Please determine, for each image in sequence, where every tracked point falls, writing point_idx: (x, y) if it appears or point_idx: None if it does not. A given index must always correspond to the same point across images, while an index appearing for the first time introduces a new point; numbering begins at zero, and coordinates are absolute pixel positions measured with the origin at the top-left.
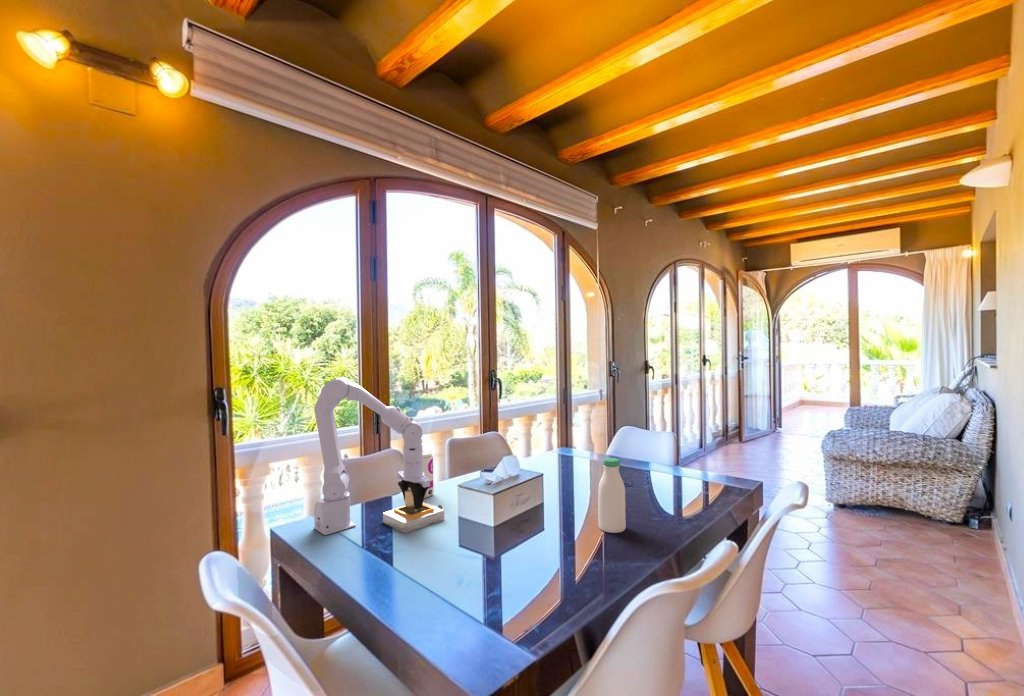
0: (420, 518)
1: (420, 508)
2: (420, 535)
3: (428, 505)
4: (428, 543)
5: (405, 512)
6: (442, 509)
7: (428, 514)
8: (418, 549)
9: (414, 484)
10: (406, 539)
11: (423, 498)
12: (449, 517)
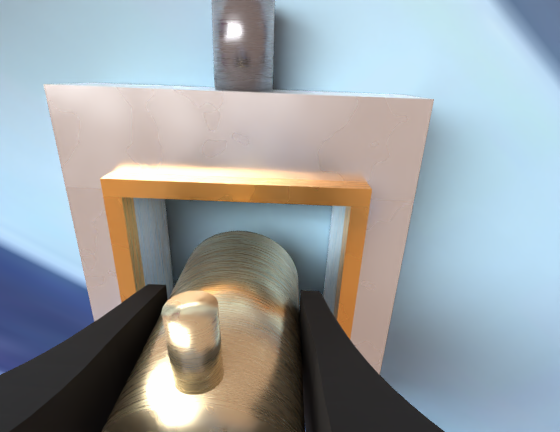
0: (388, 323)
1: (286, 271)
2: (447, 336)
3: (206, 119)
4: (554, 364)
5: (156, 277)
6: (407, 101)
7: (390, 256)
8: (550, 416)
9: (36, 424)
10: (421, 394)
11: (349, 343)
12: (399, 24)
